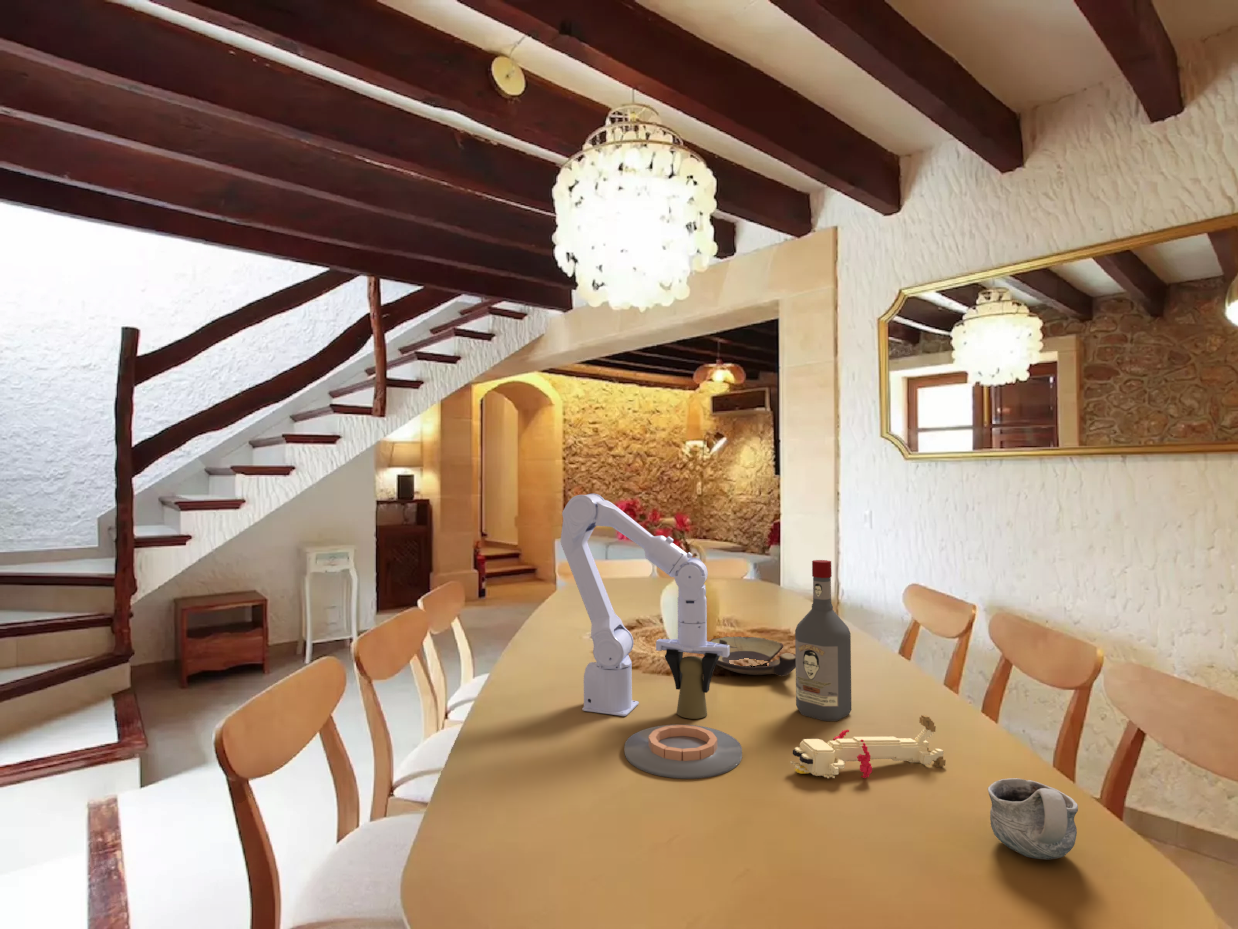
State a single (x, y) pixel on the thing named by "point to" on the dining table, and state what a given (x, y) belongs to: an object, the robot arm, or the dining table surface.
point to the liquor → (823, 654)
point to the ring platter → (683, 751)
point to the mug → (1032, 818)
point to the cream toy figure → (865, 751)
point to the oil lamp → (756, 655)
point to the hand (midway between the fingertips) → (692, 689)
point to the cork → (691, 689)
